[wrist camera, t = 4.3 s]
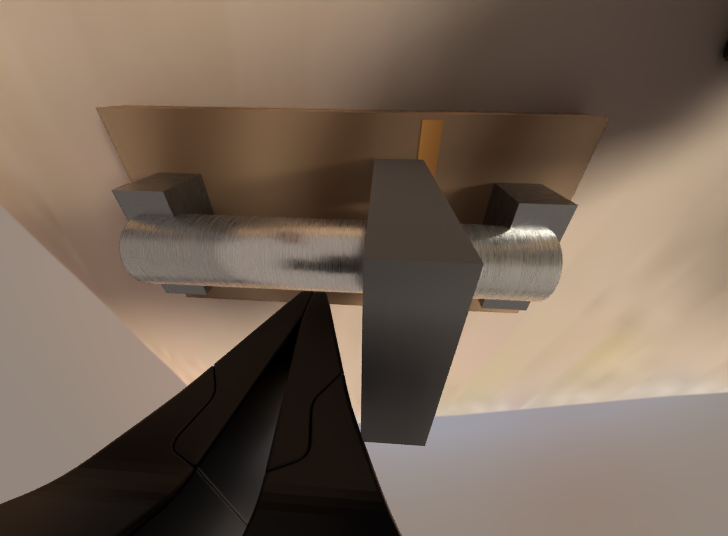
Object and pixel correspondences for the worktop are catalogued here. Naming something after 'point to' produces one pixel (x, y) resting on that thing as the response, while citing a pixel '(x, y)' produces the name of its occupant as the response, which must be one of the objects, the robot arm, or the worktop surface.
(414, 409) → the slotted grey bracket
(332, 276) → the pipe rig
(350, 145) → the board
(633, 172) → the worktop surface
